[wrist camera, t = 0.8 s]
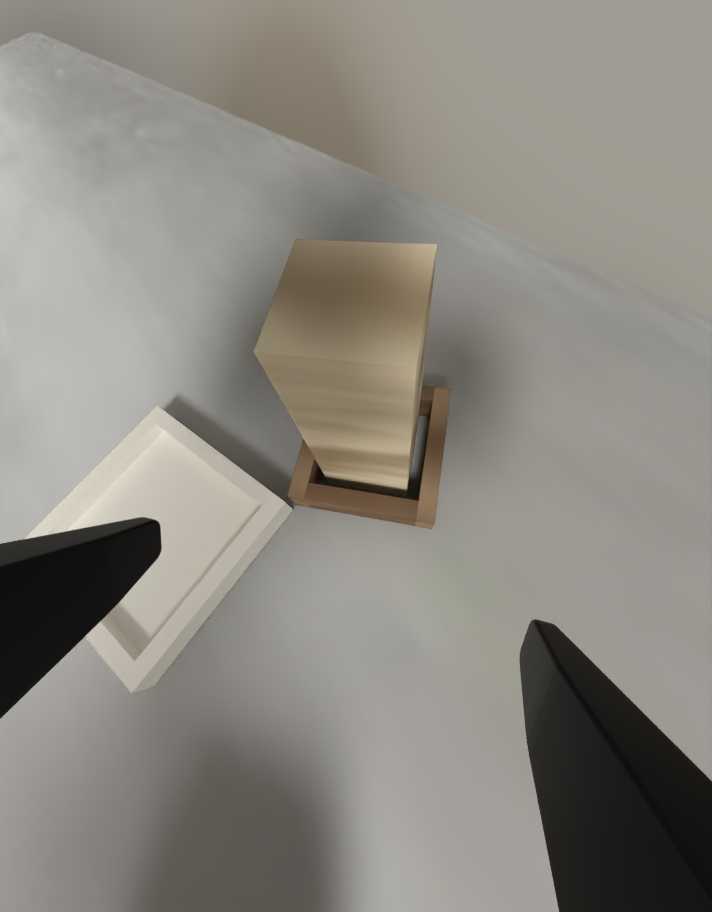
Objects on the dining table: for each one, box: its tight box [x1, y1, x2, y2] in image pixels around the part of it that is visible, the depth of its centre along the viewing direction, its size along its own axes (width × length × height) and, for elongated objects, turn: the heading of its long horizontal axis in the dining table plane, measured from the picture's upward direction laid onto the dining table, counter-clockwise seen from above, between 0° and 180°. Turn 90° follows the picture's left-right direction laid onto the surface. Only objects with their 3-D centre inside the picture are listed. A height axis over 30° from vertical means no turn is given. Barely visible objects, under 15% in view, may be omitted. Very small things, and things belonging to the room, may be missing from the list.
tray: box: [24, 406, 293, 693], centre depth 22 cm, size 12×12×2 cm
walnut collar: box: [287, 386, 451, 529], centre depth 22 cm, size 8×8×2 cm
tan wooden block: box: [254, 239, 437, 496], centre depth 17 cm, size 5×5×13 cm
